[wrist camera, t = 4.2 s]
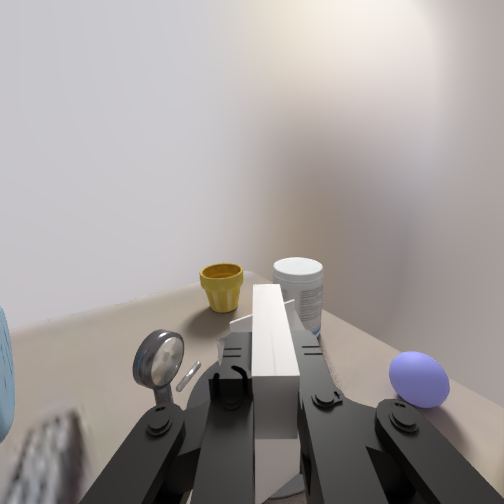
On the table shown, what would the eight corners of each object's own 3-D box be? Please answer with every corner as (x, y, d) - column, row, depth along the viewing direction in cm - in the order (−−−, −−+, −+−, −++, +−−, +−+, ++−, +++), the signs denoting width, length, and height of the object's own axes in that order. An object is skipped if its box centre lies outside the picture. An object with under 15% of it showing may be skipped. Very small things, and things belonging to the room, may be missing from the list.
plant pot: (197, 303, 62) (193, 268, 59) (232, 292, 67) (230, 259, 64) (213, 322, 54) (209, 282, 51) (252, 308, 59) (251, 271, 56)
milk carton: (225, 443, 29) (213, 304, 23) (273, 413, 33) (273, 286, 27) (256, 509, 23) (251, 347, 17) (310, 464, 27) (321, 316, 21)
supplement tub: (318, 319, 54) (322, 257, 49) (321, 348, 45) (327, 276, 40) (275, 316, 56) (275, 255, 51) (270, 343, 47) (270, 273, 42)
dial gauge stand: (186, 503, 24) (161, 362, 19) (142, 480, 26) (108, 346, 21) (211, 451, 29) (197, 325, 23) (172, 434, 31) (151, 315, 25)
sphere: (457, 415, 32) (470, 373, 30) (411, 426, 31) (422, 383, 29) (414, 374, 39) (422, 338, 37) (375, 382, 38) (381, 345, 35)
